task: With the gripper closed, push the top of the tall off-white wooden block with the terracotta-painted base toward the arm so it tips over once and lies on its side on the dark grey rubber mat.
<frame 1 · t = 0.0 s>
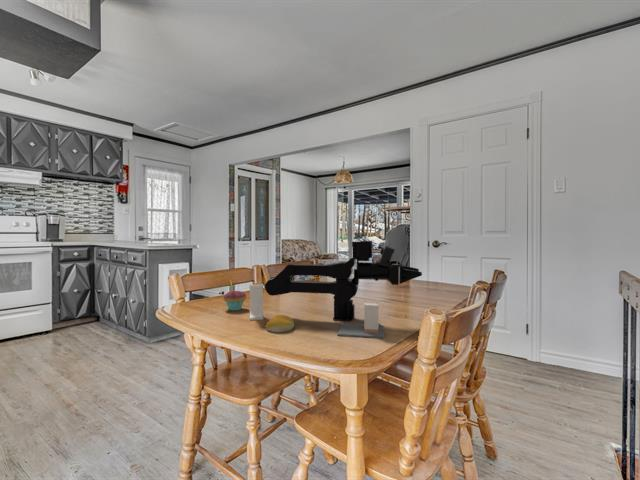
hand: (420, 272, 111), 17 cm above the table, tool horizontal, fingers open, 9 cm apart
light gray rectangular block: (256, 318, 117), on the table
bread roll: (280, 329, 104), on the table
tall block: (371, 330, 100), resting on rubber mat
cupcake: (235, 309, 130), on the table
rubber mat: (361, 331, 101), on the table
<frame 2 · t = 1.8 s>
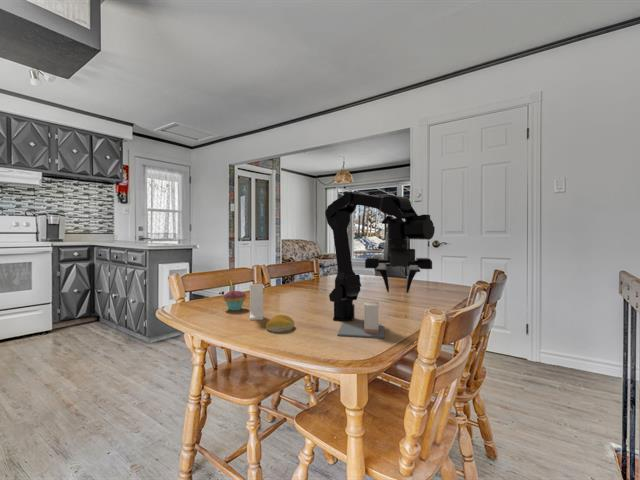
hand: (397, 292, 98), 12 cm above the table, tool pointing down, fingers open, 5 cm apart
nothing on the table moved.
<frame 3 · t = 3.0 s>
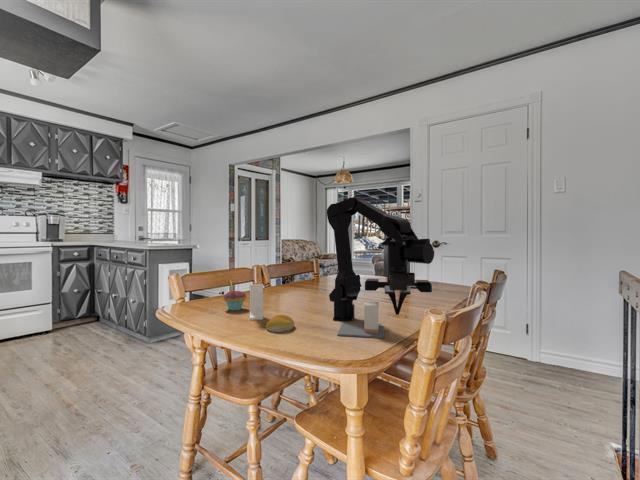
hand: (397, 314, 99), 6 cm above the table, tool pointing down, fingers closed
nothing on the table moved.
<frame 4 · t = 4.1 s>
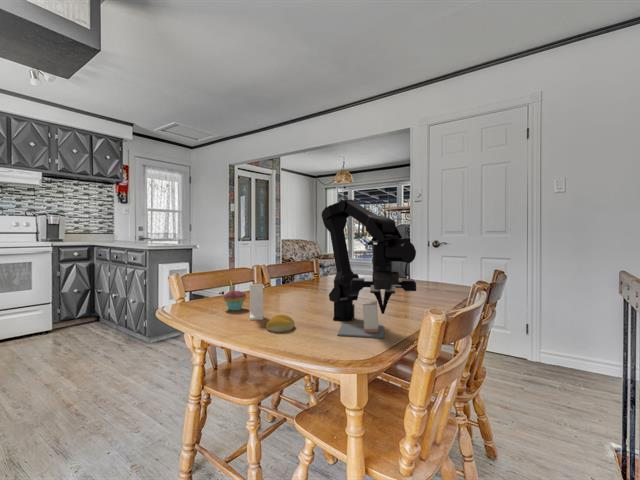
hand: (382, 313, 99), 6 cm above the table, tool pointing down, fingers closed
tall block: (371, 329, 100), point 1 cm above the table, touching gripper, rubber mat
everything else where it was.
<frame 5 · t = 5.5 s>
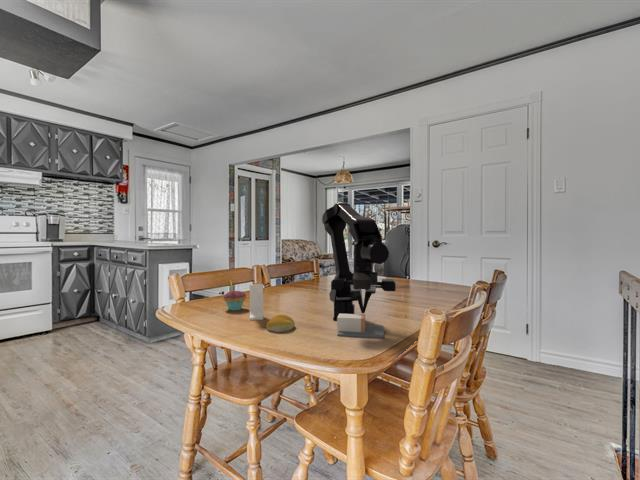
hand: (363, 313, 100), 6 cm above the table, tool pointing down, fingers closed
tall block: (364, 323, 100), point 2 cm above the table, tilted 90°, touching rubber mat
everything else where it was.
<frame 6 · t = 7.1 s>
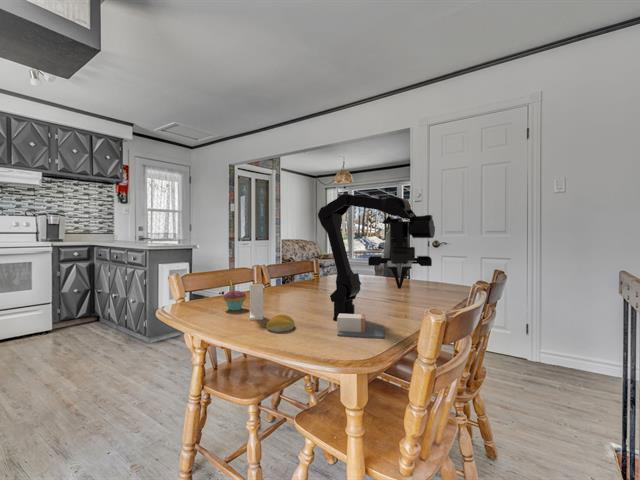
hand: (399, 288, 104), 12 cm above the table, tool pointing down, fingers closed
nothing on the table moved.
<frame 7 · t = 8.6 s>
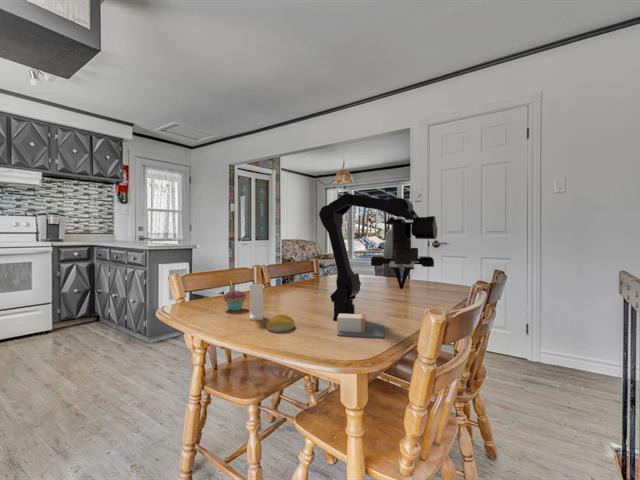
hand: (401, 288, 105), 12 cm above the table, tool pointing down, fingers closed
nothing on the table moved.
at the end: tall block tilted 90°; tall block inside the target area on the rubber mat (1.0 cm from its centre), point 2.5 cm above the rubber mat's base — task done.
